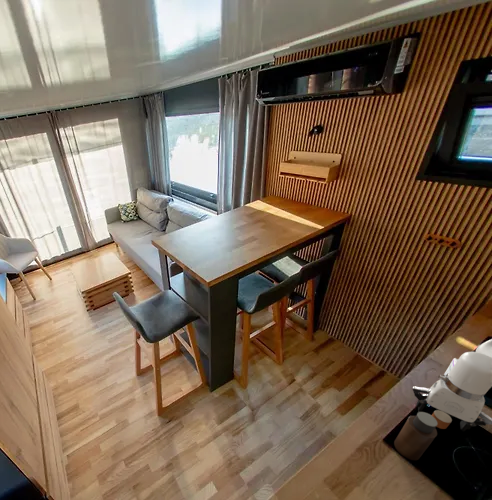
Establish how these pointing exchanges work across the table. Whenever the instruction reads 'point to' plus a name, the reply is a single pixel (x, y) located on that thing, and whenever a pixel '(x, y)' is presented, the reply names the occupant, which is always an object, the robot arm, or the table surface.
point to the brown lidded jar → (413, 440)
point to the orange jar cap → (442, 419)
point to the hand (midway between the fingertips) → (439, 417)
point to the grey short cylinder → (425, 422)
